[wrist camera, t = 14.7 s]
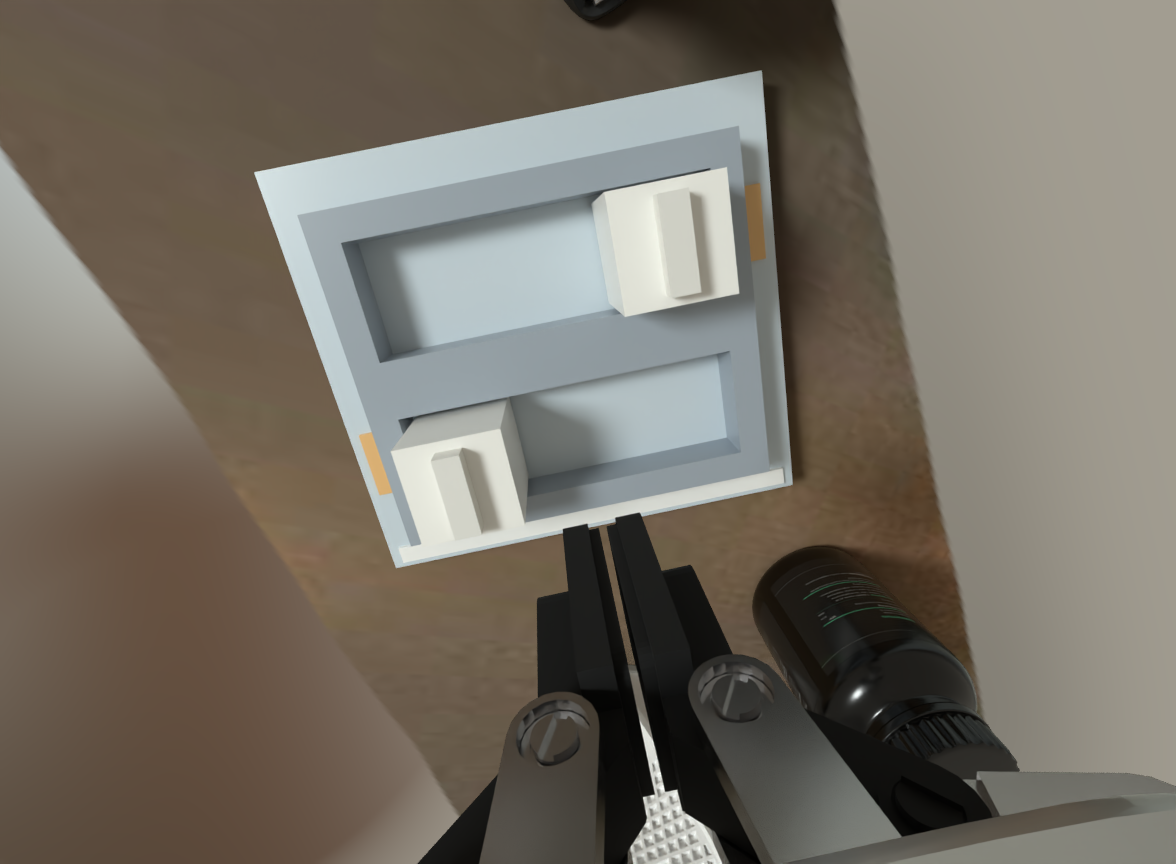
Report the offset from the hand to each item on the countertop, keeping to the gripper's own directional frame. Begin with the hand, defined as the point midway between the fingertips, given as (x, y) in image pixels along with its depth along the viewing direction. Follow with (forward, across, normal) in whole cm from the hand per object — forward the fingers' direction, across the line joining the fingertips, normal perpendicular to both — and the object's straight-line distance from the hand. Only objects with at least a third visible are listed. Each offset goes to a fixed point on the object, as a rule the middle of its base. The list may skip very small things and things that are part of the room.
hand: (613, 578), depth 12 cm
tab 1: (+14, +5, +2) cm, 15 cm away
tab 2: (+14, -4, -5) cm, 16 cm away
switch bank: (+16, 0, -2) cm, 16 cm away
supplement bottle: (+15, -11, +15) cm, 24 cm away
